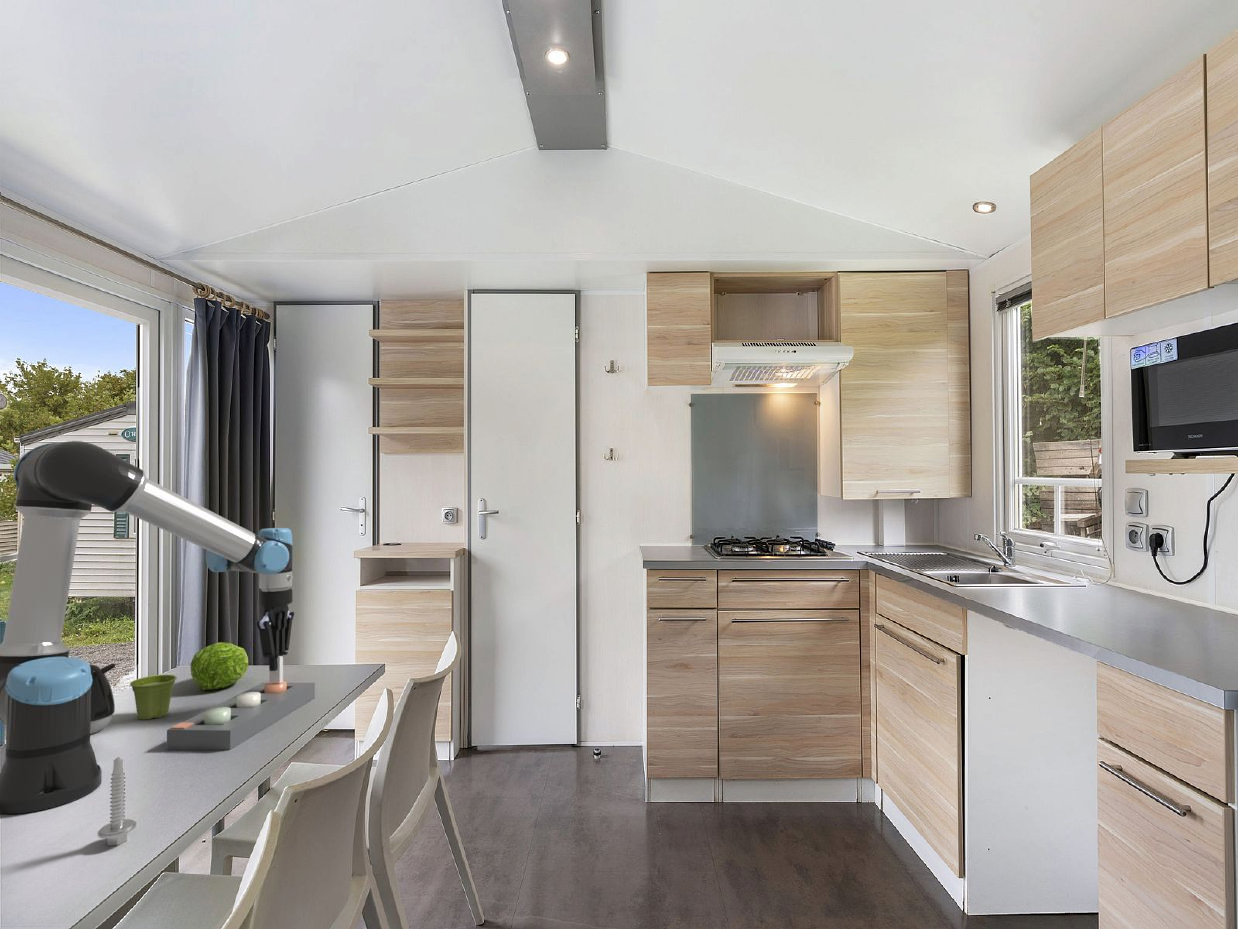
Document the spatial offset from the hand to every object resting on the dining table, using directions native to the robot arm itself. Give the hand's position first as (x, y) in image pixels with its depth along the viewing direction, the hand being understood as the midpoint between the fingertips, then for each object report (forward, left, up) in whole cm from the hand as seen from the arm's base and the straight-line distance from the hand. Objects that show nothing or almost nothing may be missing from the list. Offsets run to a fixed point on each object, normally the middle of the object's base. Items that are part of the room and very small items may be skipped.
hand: (276, 682), depth 168 cm
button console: (-11, 0, -6) cm, 13 cm away
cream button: (-11, 0, -4) cm, 12 cm away
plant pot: (-8, +26, -6) cm, 28 cm away
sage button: (-22, 0, -4) cm, 22 cm away
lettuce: (+19, +27, -6) cm, 34 cm away
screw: (-64, -13, -6) cm, 66 cm away
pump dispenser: (-19, +33, -6) cm, 39 cm away
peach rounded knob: (0, 0, -4) cm, 4 cm away
